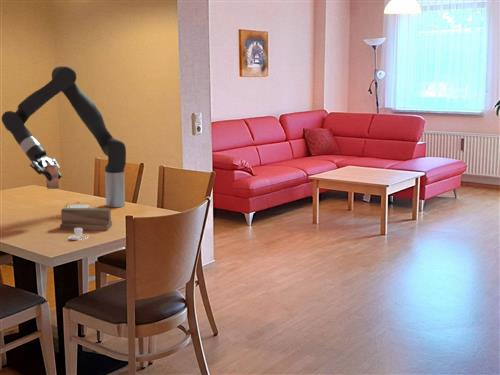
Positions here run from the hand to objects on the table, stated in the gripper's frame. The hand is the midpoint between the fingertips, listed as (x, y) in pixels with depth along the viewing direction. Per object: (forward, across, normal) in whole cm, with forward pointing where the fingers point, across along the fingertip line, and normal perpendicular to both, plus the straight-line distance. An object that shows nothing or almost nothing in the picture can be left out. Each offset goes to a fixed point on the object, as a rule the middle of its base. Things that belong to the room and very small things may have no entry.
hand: (55, 178), depth 267 cm
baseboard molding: (+11, +18, +18) cm, 28 cm away
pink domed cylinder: (+2, 0, +4) cm, 5 cm away
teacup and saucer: (+29, -16, 0) cm, 33 cm away
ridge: (+25, 0, +3) cm, 25 cm away
